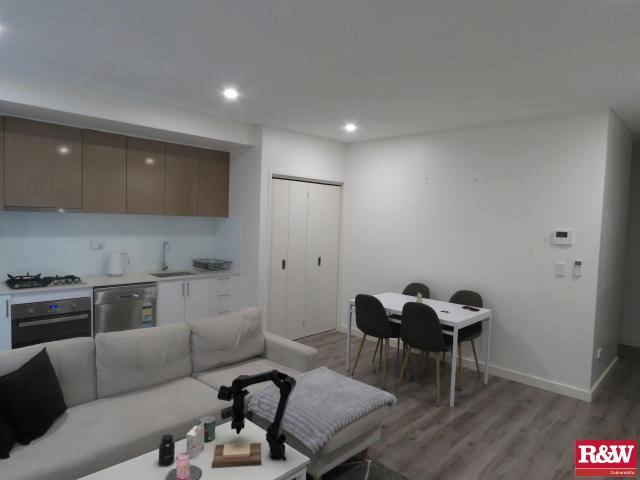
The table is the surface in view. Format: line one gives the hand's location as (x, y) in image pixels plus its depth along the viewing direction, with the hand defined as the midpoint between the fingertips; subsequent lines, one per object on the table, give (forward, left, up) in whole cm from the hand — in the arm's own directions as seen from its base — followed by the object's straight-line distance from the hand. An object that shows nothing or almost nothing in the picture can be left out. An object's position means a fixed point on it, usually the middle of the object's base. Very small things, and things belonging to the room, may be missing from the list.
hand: (238, 433), depth 199 cm
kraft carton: (+3, +9, -7) cm, 12 cm away
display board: (+2, +5, -8) cm, 10 cm away
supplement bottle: (+32, -4, -8) cm, 34 cm away
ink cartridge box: (+19, -5, -8) cm, 22 cm away
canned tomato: (+11, -15, -8) cm, 21 cm away
